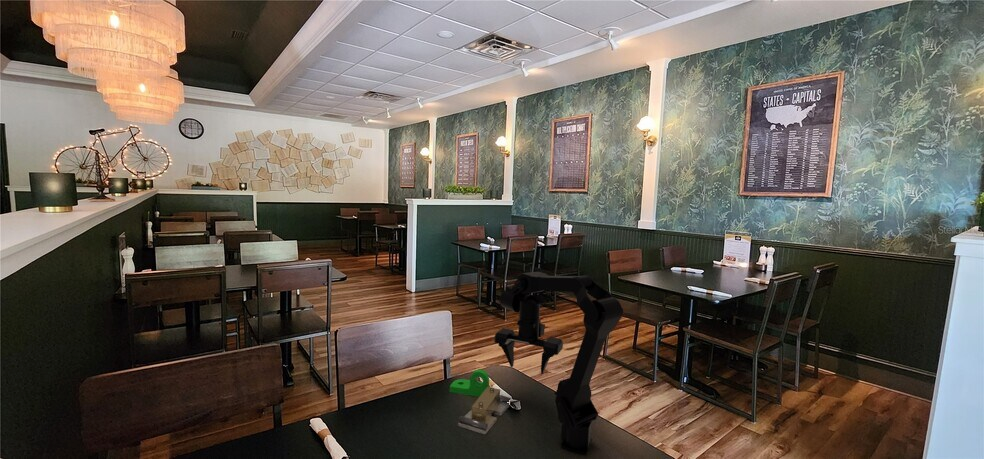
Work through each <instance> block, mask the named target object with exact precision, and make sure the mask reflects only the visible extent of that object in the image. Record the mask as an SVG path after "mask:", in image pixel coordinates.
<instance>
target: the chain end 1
mask: <svg viewBox="0 0 984 459" xmlns="http://www.w3.org/2000/svg"><path fill="white" fill-rule="evenodd" d="M497 420H498V418H497V417H495V416H492V415H491V417H490V418H489V420H488V421H487V423H483V422H480V421H476V420H473V419H472V409H470V411H468V413H465V415H463V416H462V415H459V417H458V424H457V427H460V428H463V429H467V430H468V431H469V430H470V431H472V432H474V433H475V432H476V433H479V434H483V435H487V433H488V432H490V431H489V430H491V428H492V427H493V426H494V425H495V424H496V422H497Z"/></svg>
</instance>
